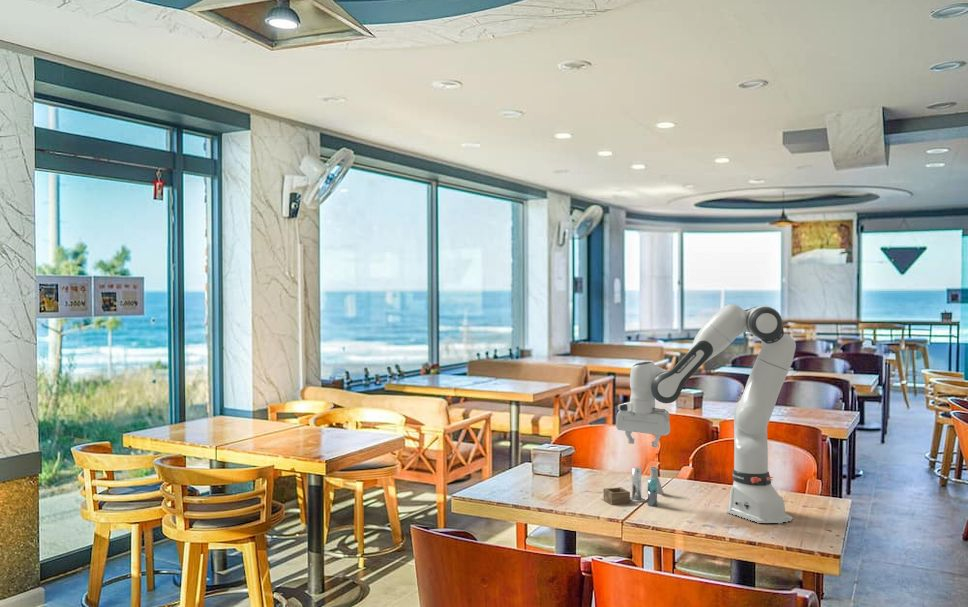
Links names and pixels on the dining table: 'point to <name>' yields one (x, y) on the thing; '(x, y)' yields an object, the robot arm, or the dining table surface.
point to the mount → (619, 497)
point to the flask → (655, 476)
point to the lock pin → (636, 484)
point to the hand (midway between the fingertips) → (642, 445)
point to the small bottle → (652, 492)
